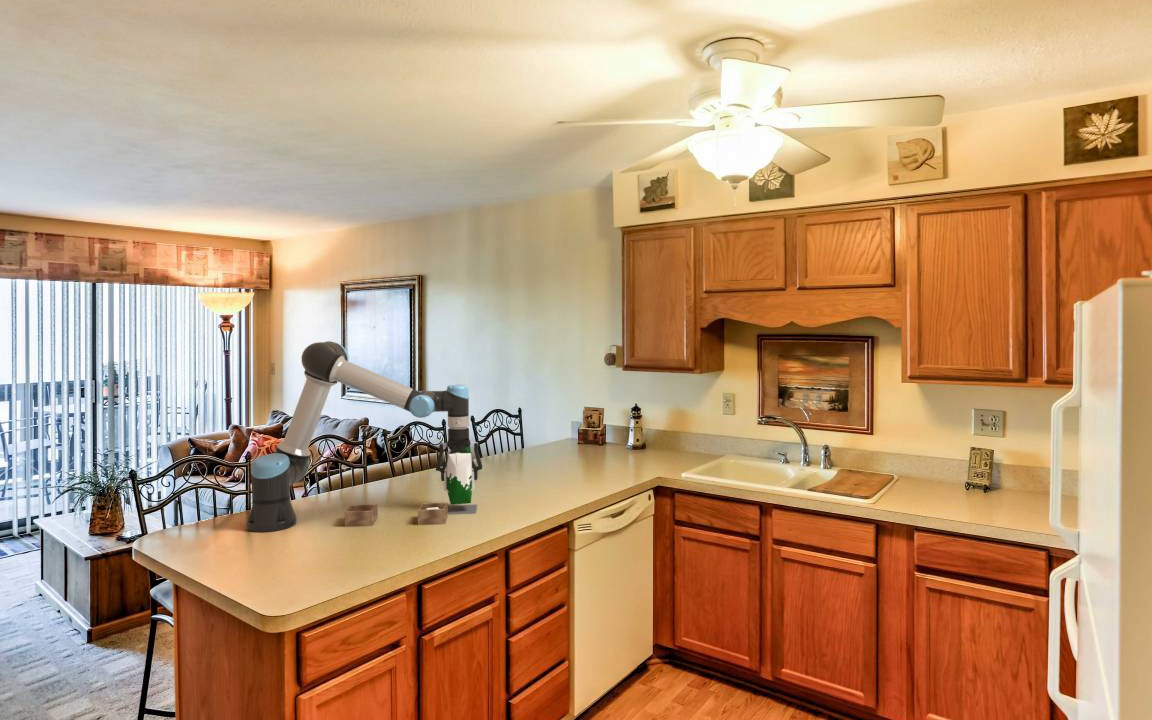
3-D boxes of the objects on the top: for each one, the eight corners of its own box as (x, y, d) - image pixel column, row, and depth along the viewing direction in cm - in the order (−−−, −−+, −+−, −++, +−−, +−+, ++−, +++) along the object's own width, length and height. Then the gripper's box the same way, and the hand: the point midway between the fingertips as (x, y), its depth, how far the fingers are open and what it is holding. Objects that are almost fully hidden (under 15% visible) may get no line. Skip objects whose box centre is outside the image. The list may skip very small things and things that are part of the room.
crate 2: (417, 526, 219) (417, 510, 219) (421, 519, 228) (421, 503, 228) (445, 525, 220) (444, 509, 220) (447, 518, 229) (447, 502, 229)
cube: (428, 522, 221) (427, 511, 221) (426, 519, 225) (426, 508, 225) (439, 521, 223) (439, 509, 223) (438, 518, 226) (437, 507, 226)
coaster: (441, 516, 231) (441, 514, 231) (444, 507, 243) (444, 505, 243) (475, 515, 232) (475, 513, 232) (477, 506, 244) (477, 504, 244)
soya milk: (473, 503, 234) (472, 448, 233) (448, 505, 232) (447, 449, 231) (471, 497, 243) (470, 444, 242) (446, 499, 240) (445, 445, 240)
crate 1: (344, 528, 218) (344, 512, 217) (351, 520, 227) (351, 505, 226) (372, 527, 219) (372, 511, 218) (378, 519, 228) (377, 504, 227)
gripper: (426, 430, 231) (427, 492, 233) (488, 428, 234) (489, 490, 235) (428, 426, 239) (430, 487, 240) (489, 425, 241) (490, 485, 242)
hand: (459, 489), depth 237 cm, fingers closed on soya milk, 9 cm apart
